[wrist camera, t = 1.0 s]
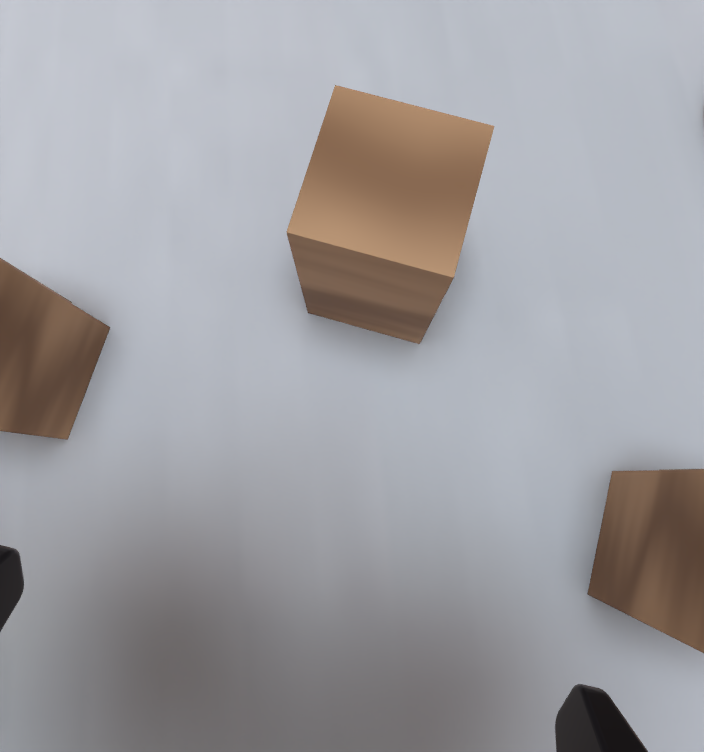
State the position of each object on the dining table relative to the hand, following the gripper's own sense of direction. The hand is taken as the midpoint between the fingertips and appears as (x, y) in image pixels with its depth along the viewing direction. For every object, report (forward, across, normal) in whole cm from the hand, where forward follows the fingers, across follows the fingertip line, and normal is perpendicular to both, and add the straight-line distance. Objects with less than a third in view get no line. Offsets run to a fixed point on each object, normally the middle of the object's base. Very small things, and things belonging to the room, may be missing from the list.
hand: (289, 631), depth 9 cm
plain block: (+18, 0, 0) cm, 18 cm away
